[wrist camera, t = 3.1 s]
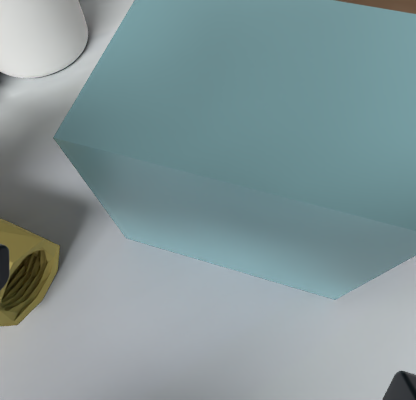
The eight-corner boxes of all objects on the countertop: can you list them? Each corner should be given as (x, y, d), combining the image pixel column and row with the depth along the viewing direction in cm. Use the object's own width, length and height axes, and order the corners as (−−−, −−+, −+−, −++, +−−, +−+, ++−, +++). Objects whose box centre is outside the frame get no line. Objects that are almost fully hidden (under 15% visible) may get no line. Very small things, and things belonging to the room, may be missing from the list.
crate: (334, 300, 19) (445, 238, 9) (126, 238, 20) (53, 138, 11) (355, 160, 22) (450, 19, 13) (177, 118, 24) (152, -31, 15)
